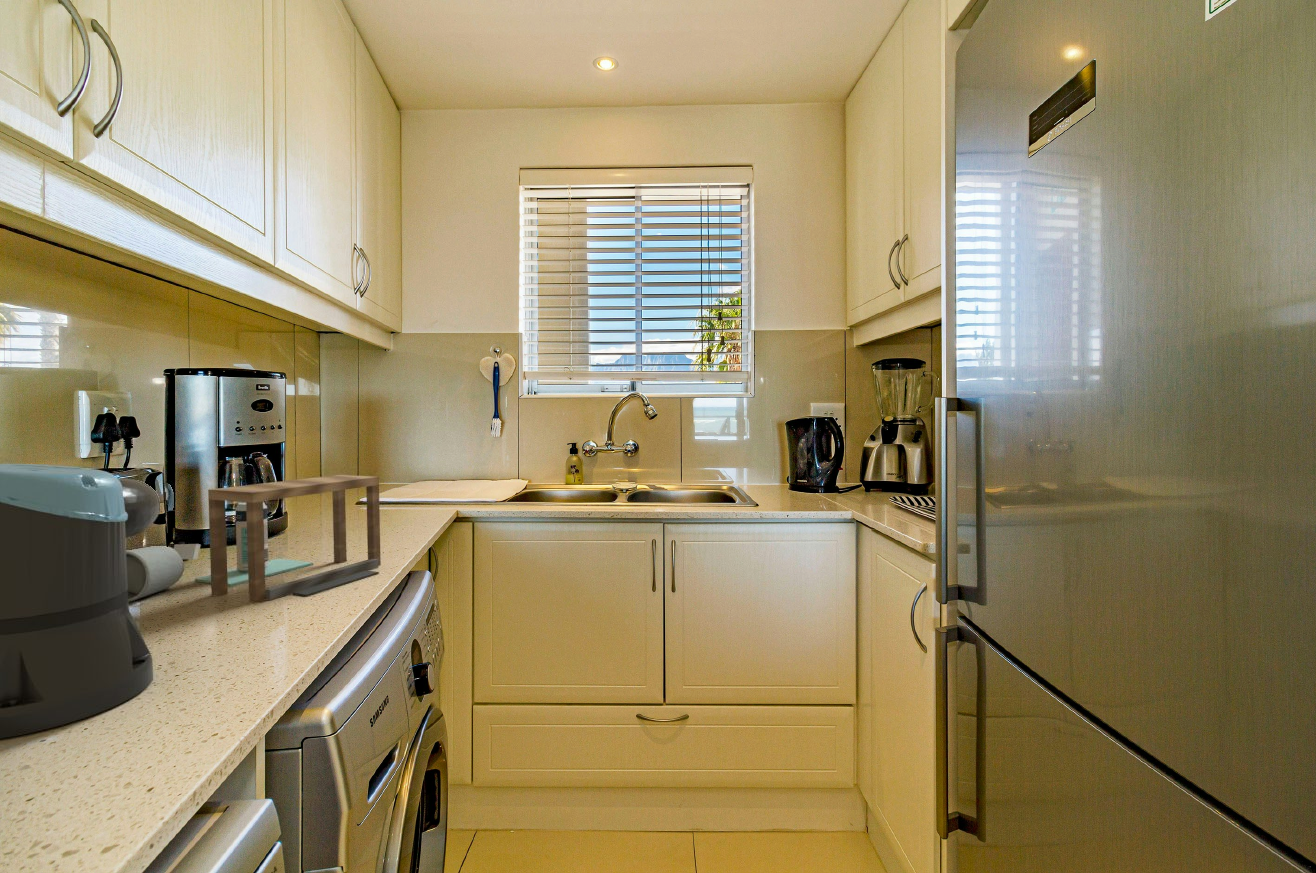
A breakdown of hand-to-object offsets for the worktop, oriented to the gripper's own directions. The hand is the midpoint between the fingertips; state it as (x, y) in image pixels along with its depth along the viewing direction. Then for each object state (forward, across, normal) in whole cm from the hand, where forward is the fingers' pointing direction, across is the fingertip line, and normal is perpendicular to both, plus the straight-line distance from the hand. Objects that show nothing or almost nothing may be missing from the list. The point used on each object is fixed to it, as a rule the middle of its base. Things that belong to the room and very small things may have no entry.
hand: (162, 548), depth 105 cm
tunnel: (+25, -9, -4) cm, 27 cm away
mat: (+14, -8, -4) cm, 16 cm away
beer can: (+13, -8, -3) cm, 15 cm away
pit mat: (+33, -9, -5) cm, 35 cm away
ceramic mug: (+9, +7, -8) cm, 14 cm away
